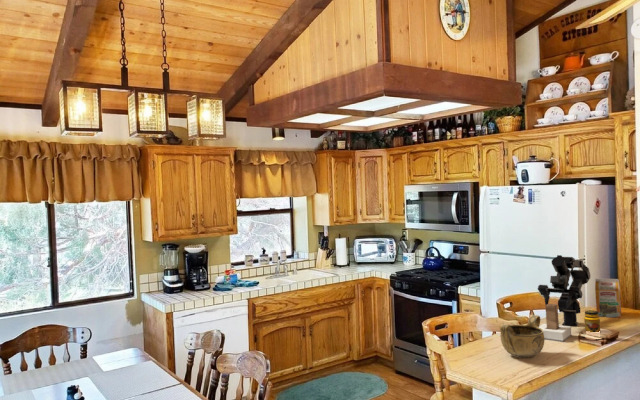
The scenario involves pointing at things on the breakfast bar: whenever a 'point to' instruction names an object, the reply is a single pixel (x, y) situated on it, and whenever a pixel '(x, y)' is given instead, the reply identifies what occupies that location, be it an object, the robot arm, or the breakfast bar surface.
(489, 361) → the breakfast bar surface
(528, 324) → the ceramic bowl
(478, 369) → the breakfast bar surface
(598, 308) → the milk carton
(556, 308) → the peg
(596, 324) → the condiment
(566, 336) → the socket block
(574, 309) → the robot arm
